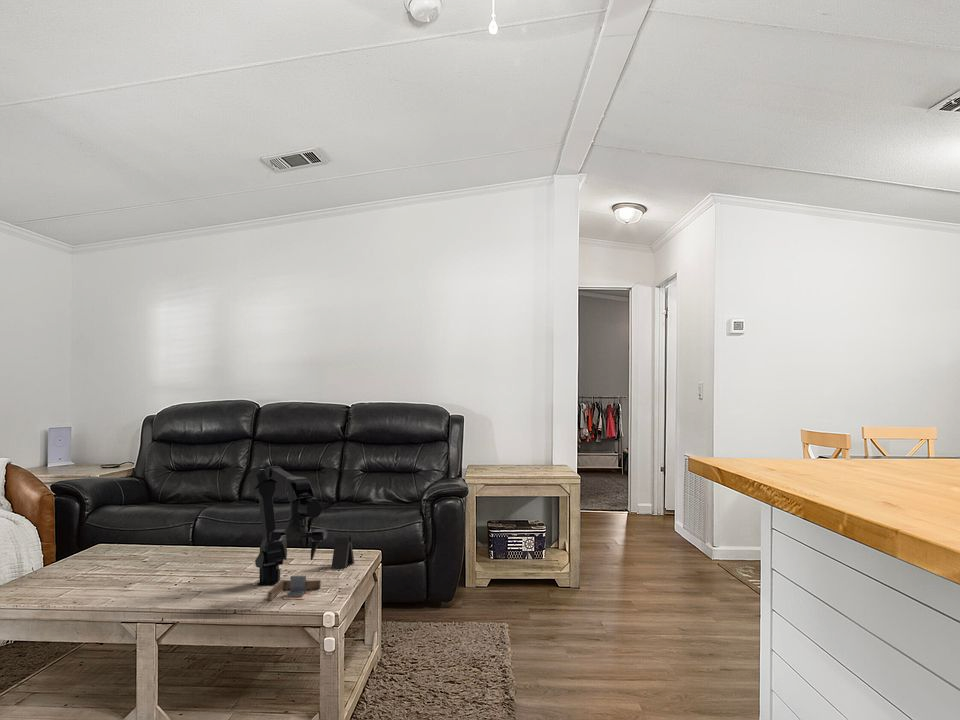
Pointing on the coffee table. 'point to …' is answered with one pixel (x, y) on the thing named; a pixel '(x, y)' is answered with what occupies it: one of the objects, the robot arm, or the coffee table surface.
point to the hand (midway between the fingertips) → (298, 559)
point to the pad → (297, 597)
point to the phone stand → (342, 552)
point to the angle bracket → (297, 586)
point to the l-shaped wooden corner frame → (287, 585)
